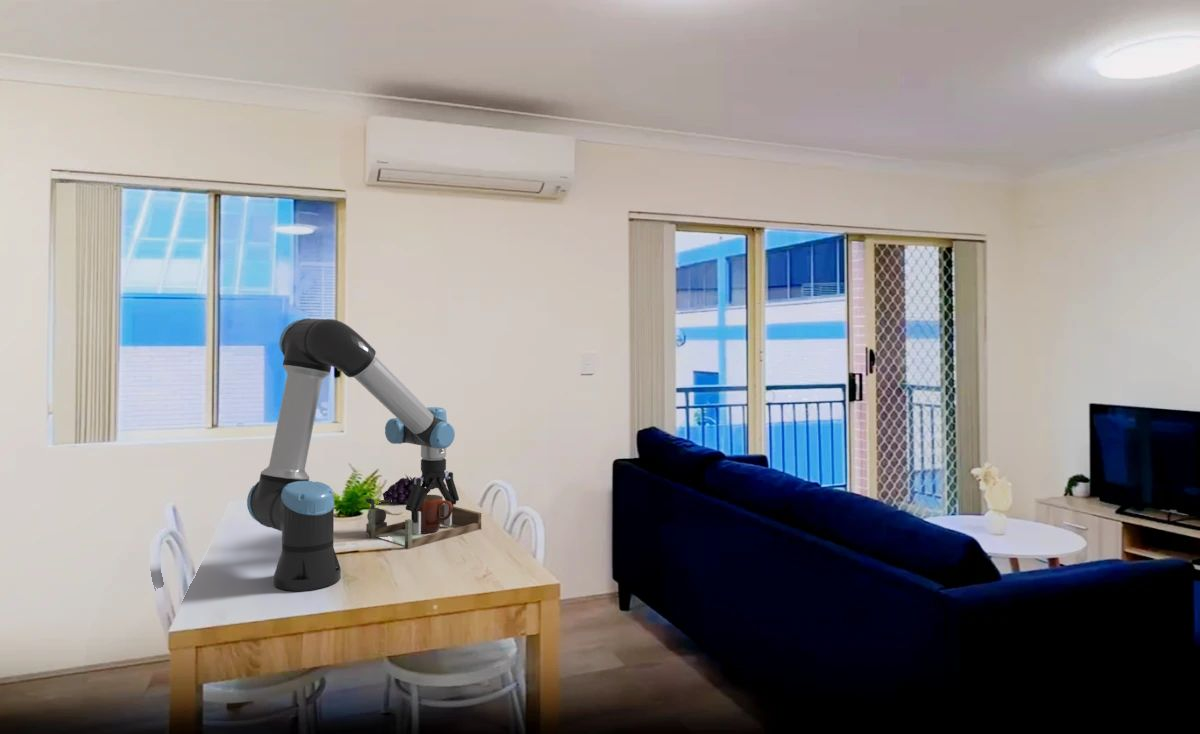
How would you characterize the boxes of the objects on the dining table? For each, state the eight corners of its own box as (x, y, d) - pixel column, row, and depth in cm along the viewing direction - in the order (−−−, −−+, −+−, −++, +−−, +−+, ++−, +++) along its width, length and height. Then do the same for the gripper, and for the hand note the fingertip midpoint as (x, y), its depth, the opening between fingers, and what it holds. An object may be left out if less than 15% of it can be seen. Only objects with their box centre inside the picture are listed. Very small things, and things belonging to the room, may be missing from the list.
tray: (408, 549, 204) (408, 514, 204) (355, 532, 219) (356, 500, 219) (481, 528, 226) (481, 497, 226) (429, 515, 241) (429, 485, 241)
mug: (408, 534, 219) (408, 500, 218) (418, 526, 228) (419, 494, 227) (447, 536, 218) (447, 502, 217) (456, 528, 226) (456, 495, 226)
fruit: (385, 510, 260) (426, 496, 266) (388, 512, 250) (431, 498, 256) (378, 482, 260) (419, 469, 266) (380, 483, 250) (423, 470, 256)
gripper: (409, 464, 210) (409, 539, 211) (471, 454, 229) (470, 523, 230) (393, 461, 214) (392, 534, 216) (455, 452, 233) (454, 519, 234)
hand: (432, 528), depth 223 cm, fingers open, 11 cm apart
